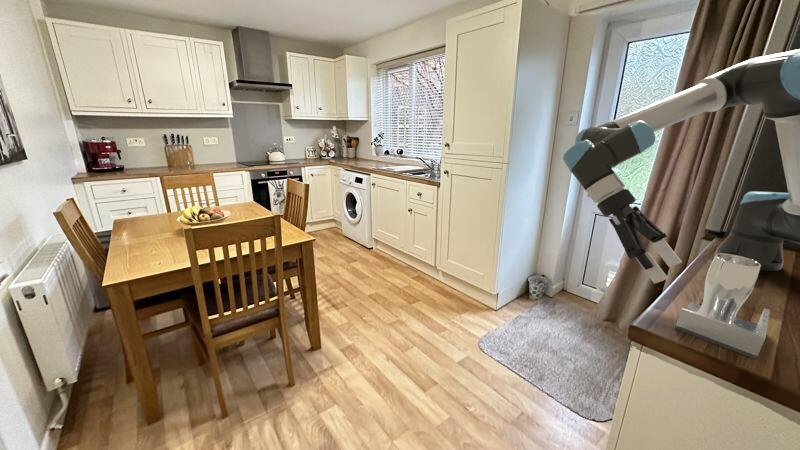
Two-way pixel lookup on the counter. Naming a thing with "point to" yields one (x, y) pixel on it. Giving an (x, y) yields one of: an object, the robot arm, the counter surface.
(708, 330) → the tray
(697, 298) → the counter surface
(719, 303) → the beer glass
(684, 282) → the counter surface
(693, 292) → the counter surface
